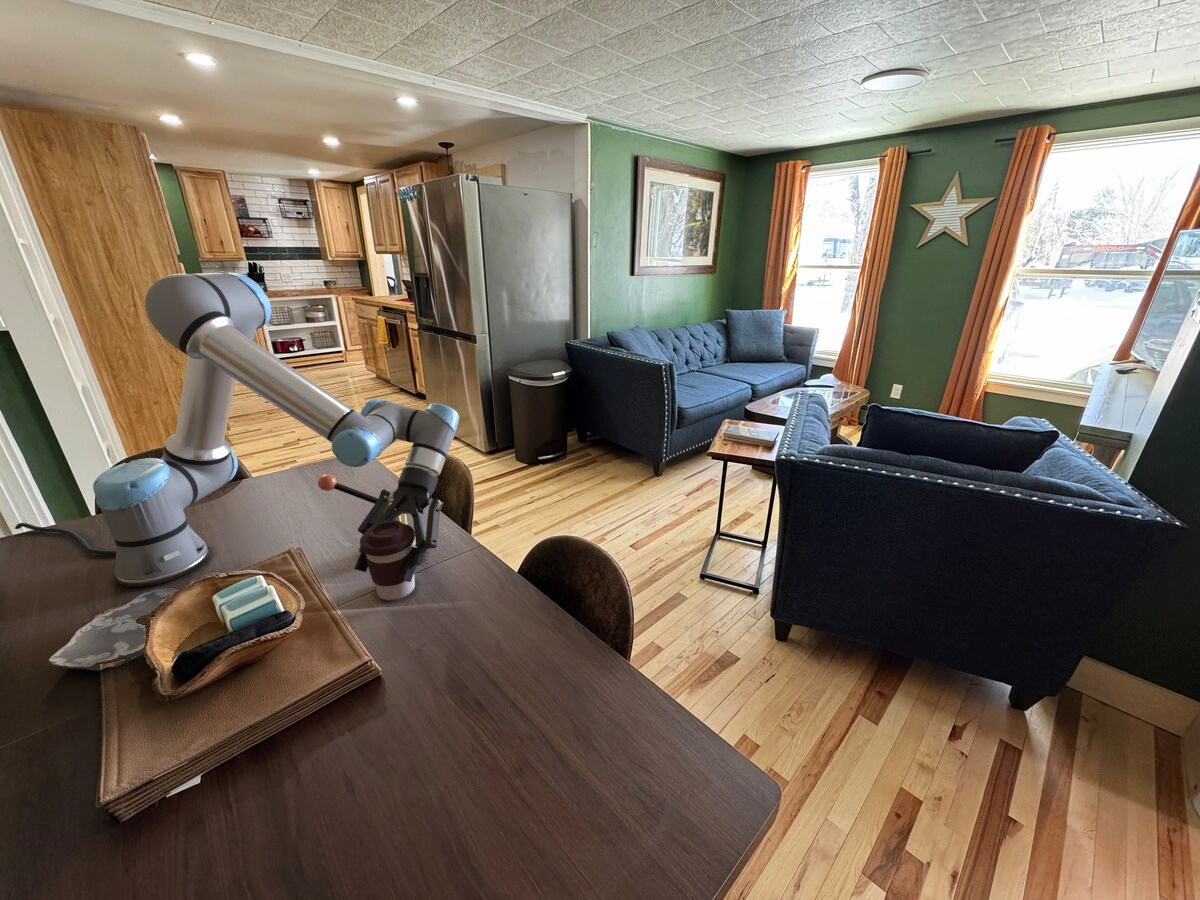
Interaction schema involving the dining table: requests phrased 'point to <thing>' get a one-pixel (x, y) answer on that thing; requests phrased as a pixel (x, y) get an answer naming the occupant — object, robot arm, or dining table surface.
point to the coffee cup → (388, 557)
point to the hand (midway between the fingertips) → (382, 575)
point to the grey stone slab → (111, 635)
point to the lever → (343, 488)
